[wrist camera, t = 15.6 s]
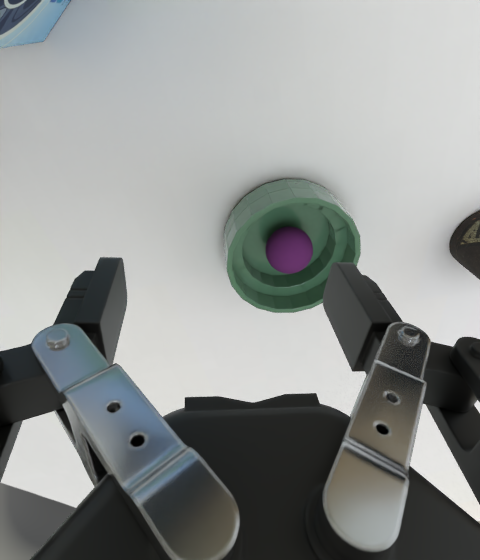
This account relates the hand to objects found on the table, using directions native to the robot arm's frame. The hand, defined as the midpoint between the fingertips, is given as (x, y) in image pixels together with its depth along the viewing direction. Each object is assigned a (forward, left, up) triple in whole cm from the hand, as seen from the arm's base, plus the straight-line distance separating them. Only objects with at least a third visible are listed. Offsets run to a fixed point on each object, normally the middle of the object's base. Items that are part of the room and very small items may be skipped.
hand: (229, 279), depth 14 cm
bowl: (+10, -13, -28) cm, 33 cm away
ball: (+10, -13, -25) cm, 30 cm away
